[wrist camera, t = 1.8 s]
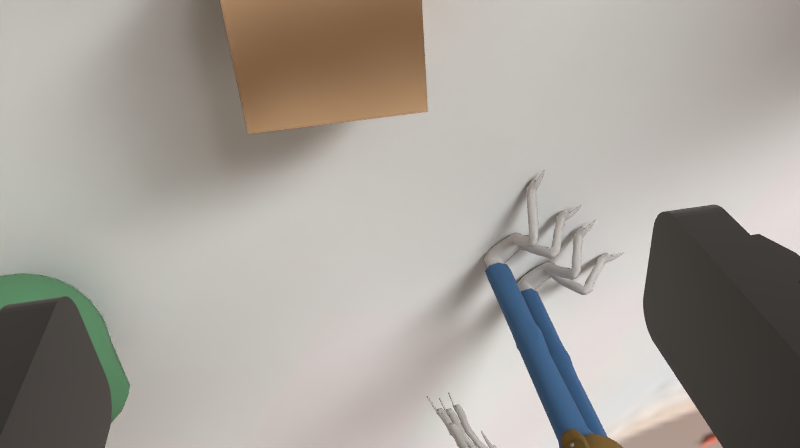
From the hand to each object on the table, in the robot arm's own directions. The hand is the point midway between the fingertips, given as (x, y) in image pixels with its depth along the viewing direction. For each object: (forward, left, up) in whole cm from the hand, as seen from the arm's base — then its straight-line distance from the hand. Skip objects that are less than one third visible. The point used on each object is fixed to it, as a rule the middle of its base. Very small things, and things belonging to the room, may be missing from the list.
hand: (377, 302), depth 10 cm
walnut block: (0, 0, -18) cm, 18 cm away
